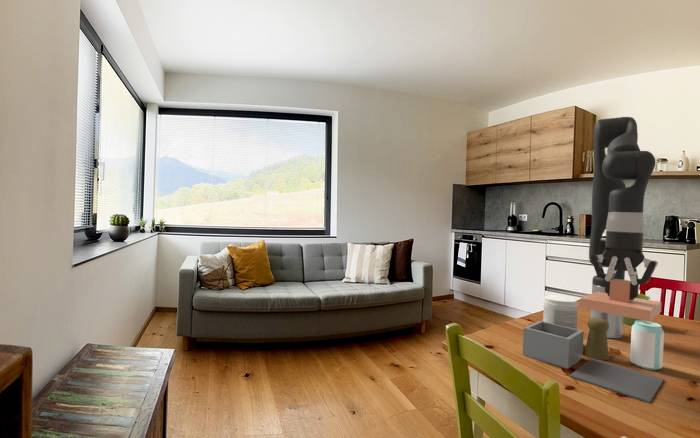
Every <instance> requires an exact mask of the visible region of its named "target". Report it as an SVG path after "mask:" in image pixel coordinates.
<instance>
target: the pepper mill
mask: <svg viewBox="0 0 700 438" xmlns="http://www.w3.org/2000/svg"><path fill="white" fill-rule="evenodd" d="M587 326H588V328H589V330H588V335H587V340H586V345H585V350H584V355H586V356H587V357H589V358H593V359H596V360H600V361H603V360H604V361H605V360H610V355H609V346H608V345H609V344H608V343H609V342H608V338H607V334H606V331H607V330H608V328H609V324H608V322H607V321H606V320H603V319H600V318H591V317H590V318H589V319H588V321H587Z"/></svg>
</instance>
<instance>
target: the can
mask: <svg viewBox="0 0 700 438" xmlns="http://www.w3.org/2000/svg"><path fill="white" fill-rule="evenodd" d="M664 340H665V331H664V329H663V328H662V325H661V324H659V323H657V322H652V321H650V322H649V321H644V320H643V321H640V320H638V321H635V324H634V325H631V334H630V351H629V352H630V353H629V360H630V362H631V363H632V364H634V365H635V366H637V367H639V368H641V369H646V370H651V371H657V370H660V369H662V368H663V361H664V344H665V341H664Z"/></svg>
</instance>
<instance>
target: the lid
mask: <svg viewBox="0 0 700 438" xmlns="http://www.w3.org/2000/svg"><path fill="white" fill-rule="evenodd" d="M630 285H632V284H631V280H630V279H629V280H628V279H625V280H621V279H612V280H610V296H608V294H607V293H602V292H595V293H593V294H592V293H590V294H588V295H586V296H583V297H581V298H580V307H579V308H580V309H582V310H583V309H584V310H589V311H591V310H593V311H599V312H604V313H609V314H614V315H619V316H624V317H629V318H634V319H639V320H643V321H649V322H652V320H653V319H654V318H656V317H657V316H658V315H660V313H661V312H662V301H657V300H650V299H649V300H645V299H639V298H635V299H634V300H630Z"/></svg>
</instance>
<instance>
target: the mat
mask: <svg viewBox="0 0 700 438" xmlns="http://www.w3.org/2000/svg"><path fill="white" fill-rule="evenodd" d="M569 378H571V379H575V380H578V381H580V382H581V381H582V382H584V383H587V384H591V385H593V386H597V387H599V388H602V389H605V390H609V391H611V392H614V393H618V394H621V395H624V396H625V397H626V396H627V397H630V398H632V399H636V400H639V401H641V402H645V403H647V404H651V402H652V400H653V399H654V397H655V395H656V394H657V393H658V390H659V389H660V387H661V386H662V384H663V382H664V381H665V380H664V379H665V378H662V377H659V376H656V375H652V374H649V373H645V372H642V371H639V370H634V369H632V368H631V369H630V368H627V367H624V366H620V365H617V364H614V363H610V362H606V361H603V360H601V359H596V358H592V357H590V358H589V360H587V361H586V362H584V363H583V364H582V365H581V366H579V367H578V368H577V369H575V371H573V372H572V373H571V374H569Z"/></svg>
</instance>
